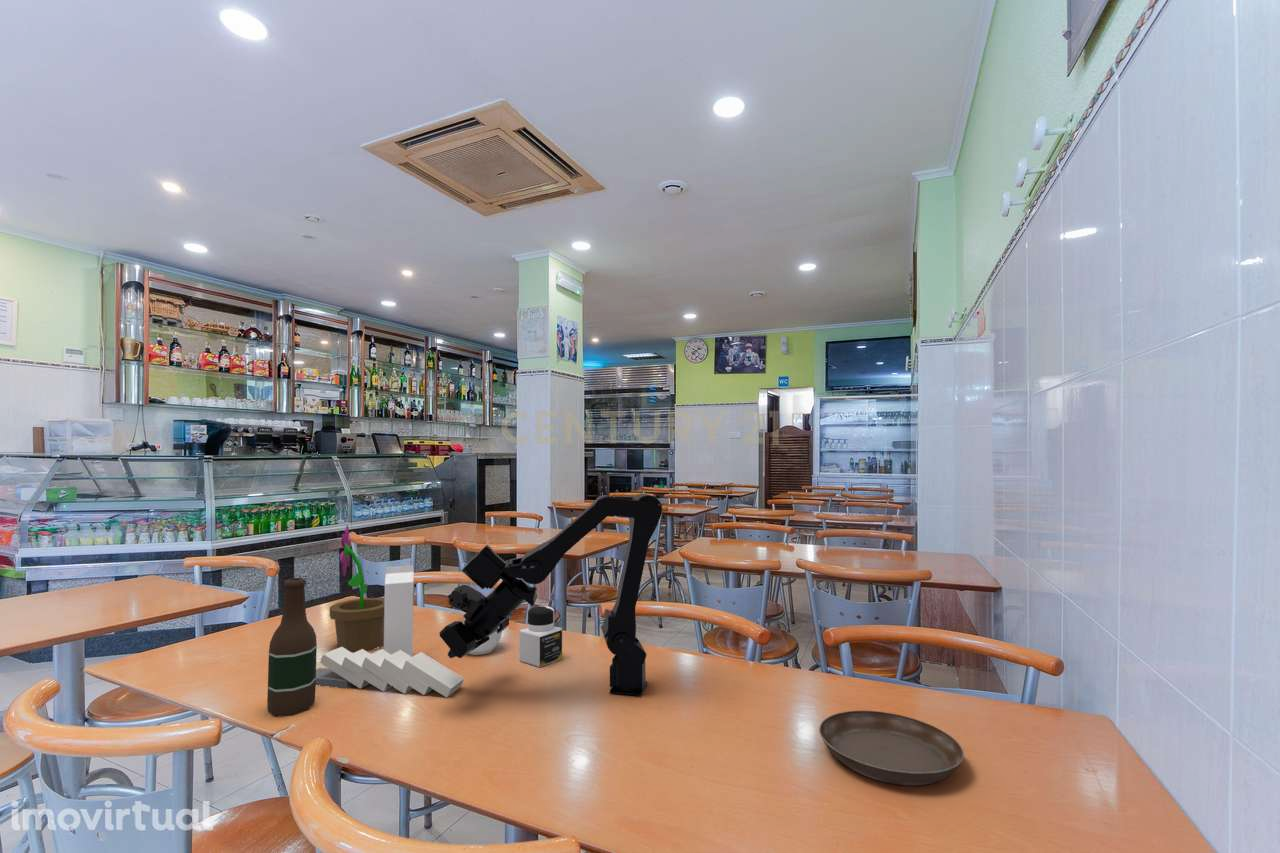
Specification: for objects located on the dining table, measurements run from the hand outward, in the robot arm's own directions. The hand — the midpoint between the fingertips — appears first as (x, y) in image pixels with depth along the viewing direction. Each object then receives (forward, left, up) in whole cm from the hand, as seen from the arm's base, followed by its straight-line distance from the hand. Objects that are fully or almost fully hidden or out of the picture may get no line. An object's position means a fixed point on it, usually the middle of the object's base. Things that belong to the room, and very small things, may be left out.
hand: (449, 656), depth 117 cm
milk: (+20, -12, -7) cm, 25 cm away
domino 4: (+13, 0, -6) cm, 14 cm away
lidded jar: (+6, -24, -7) cm, 26 cm away
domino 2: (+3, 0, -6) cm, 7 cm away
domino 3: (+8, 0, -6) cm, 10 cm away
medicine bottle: (-11, -21, -7) cm, 25 cm away
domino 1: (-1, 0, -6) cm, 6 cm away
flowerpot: (+37, -21, -7) cm, 43 cm away
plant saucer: (-81, +8, -8) cm, 82 cm away
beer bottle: (+25, +13, -7) cm, 29 cm away
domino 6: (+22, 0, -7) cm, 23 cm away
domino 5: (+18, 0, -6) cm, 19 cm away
